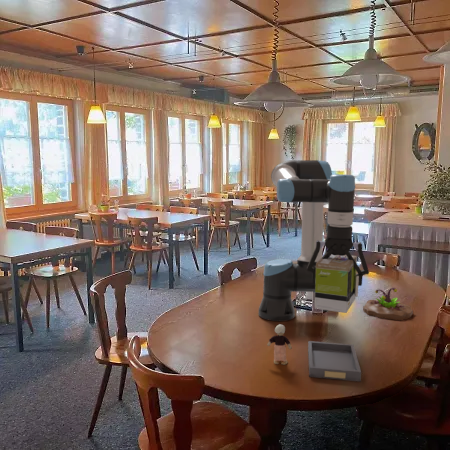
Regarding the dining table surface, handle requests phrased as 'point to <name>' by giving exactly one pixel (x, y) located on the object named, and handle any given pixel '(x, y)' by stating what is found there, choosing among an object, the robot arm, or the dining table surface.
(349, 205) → the robot arm
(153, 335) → the dining table surface
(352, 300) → the tea box
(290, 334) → the dining table surface
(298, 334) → the dining table surface
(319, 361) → the slot tray
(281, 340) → the grandmother figurine
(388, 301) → the plant
